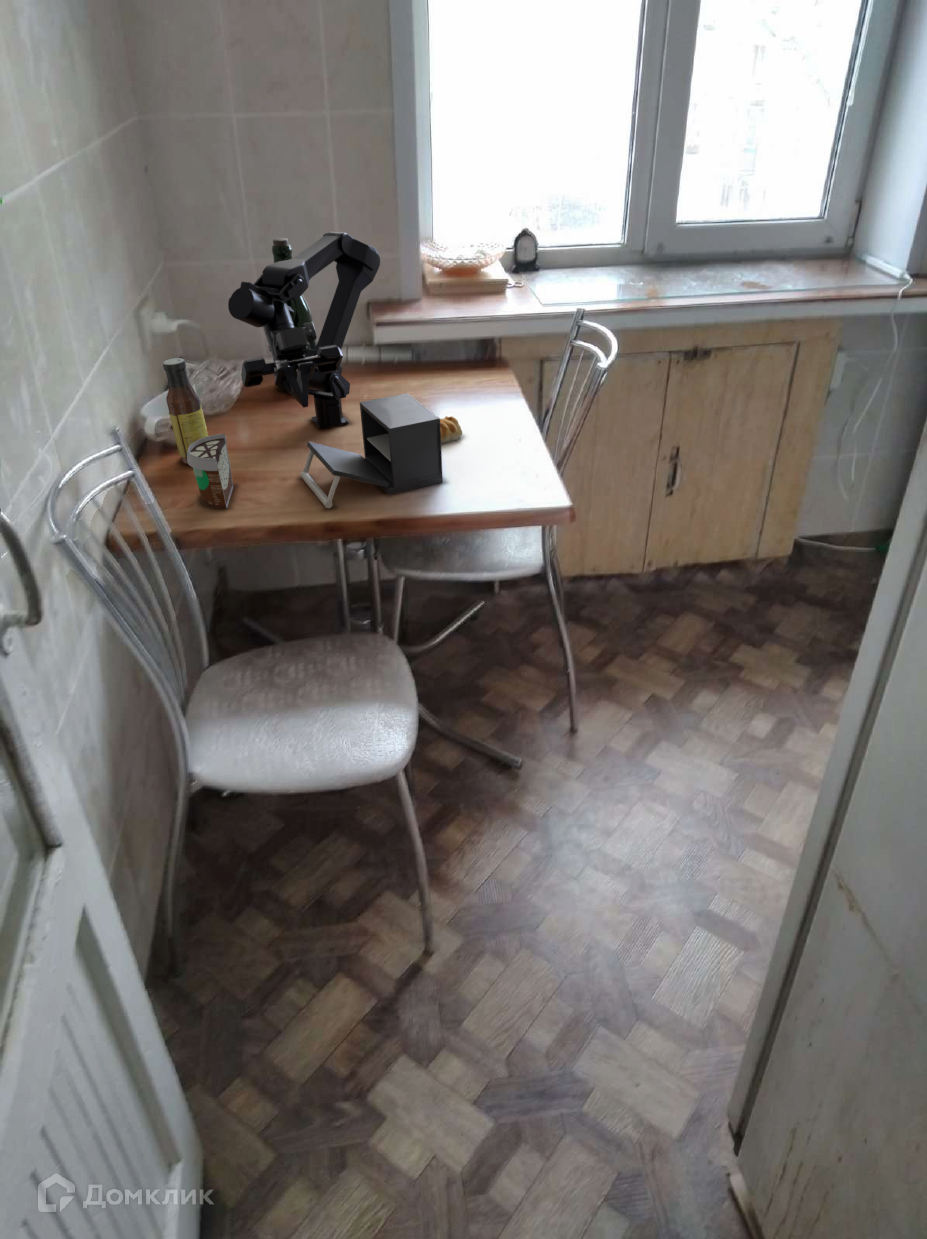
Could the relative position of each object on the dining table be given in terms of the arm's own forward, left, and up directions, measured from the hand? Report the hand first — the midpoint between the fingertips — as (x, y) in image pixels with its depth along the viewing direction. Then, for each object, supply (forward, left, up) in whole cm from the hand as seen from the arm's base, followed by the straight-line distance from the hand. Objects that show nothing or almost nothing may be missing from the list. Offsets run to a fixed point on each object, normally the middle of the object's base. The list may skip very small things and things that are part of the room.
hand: (306, 406), depth 169 cm
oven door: (+12, +7, -13) cm, 19 cm away
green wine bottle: (-45, +11, -12) cm, 48 cm away
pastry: (0, +27, -12) cm, 30 cm away
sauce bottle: (-14, -20, -12) cm, 27 cm away
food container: (+5, -21, -12) cm, 24 cm away
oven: (+12, +13, -12) cm, 21 cm away
